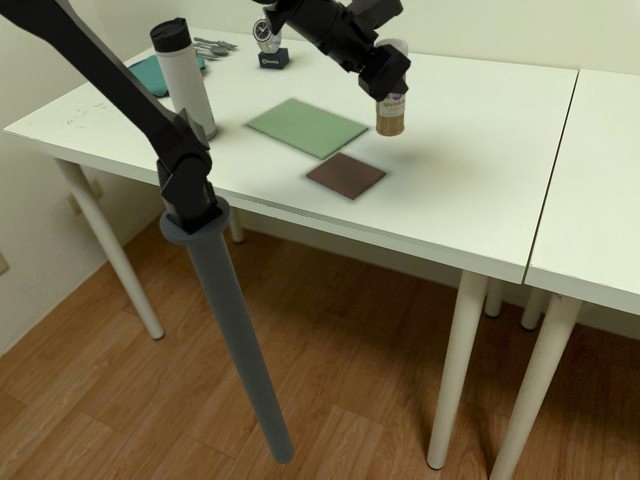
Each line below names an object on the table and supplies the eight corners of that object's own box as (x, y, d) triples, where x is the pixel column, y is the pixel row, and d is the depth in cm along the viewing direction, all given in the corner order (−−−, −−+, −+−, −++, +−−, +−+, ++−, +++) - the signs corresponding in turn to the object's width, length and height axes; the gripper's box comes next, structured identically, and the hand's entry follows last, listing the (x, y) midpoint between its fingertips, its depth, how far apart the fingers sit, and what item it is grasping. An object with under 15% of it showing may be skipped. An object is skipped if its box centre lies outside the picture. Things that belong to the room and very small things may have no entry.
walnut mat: (353, 199, 70) (352, 197, 69) (305, 176, 75) (305, 174, 75) (386, 174, 73) (386, 172, 73) (338, 153, 79) (338, 151, 79)
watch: (256, 71, 107) (246, 21, 99) (271, 57, 112) (263, 8, 104) (278, 73, 105) (270, 22, 97) (292, 58, 110) (285, 8, 103)
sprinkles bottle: (388, 141, 71) (390, 52, 62) (369, 129, 74) (367, 43, 64) (411, 130, 72) (415, 42, 63) (391, 119, 75) (392, 34, 66)
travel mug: (225, 128, 89) (195, 18, 75) (201, 146, 85) (166, 33, 71) (201, 122, 92) (168, 15, 78) (177, 139, 88) (139, 29, 74)
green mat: (322, 160, 78) (322, 158, 78) (246, 125, 89) (246, 123, 89) (368, 128, 84) (368, 126, 84) (291, 100, 95) (291, 98, 95)
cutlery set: (102, 89, 108) (98, 79, 106) (193, 41, 125) (190, 32, 123) (160, 105, 99) (156, 95, 97) (250, 51, 116) (248, 41, 114)
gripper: (398, -20, 49) (475, 60, 59) (335, -52, 63) (406, 18, 72) (333, 69, 53) (415, 131, 63) (287, 21, 67) (360, 78, 76)
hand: (399, 85), depth 68 cm, fingers closed on sprinkles bottle, 4 cm apart
